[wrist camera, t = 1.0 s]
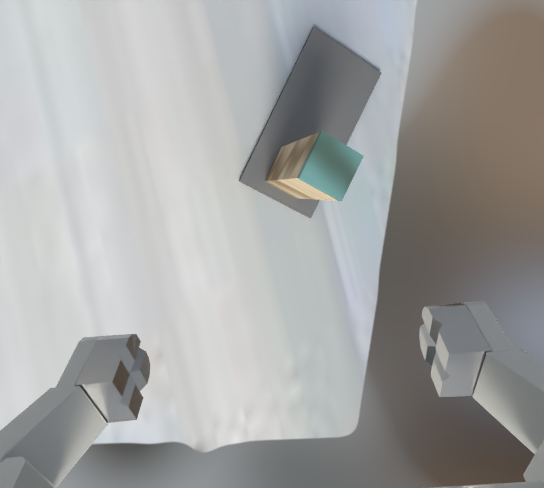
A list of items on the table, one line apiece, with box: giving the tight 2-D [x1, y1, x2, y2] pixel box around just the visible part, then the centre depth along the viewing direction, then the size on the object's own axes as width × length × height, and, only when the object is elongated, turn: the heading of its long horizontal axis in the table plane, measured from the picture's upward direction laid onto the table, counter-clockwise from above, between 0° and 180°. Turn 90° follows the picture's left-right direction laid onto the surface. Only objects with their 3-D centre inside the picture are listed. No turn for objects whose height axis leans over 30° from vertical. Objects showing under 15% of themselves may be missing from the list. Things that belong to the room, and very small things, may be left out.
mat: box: [239, 27, 381, 218], centre depth 51 cm, size 22×11×1 cm, turn 153°
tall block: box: [265, 131, 363, 201], centre depth 44 cm, size 5×5×14 cm
